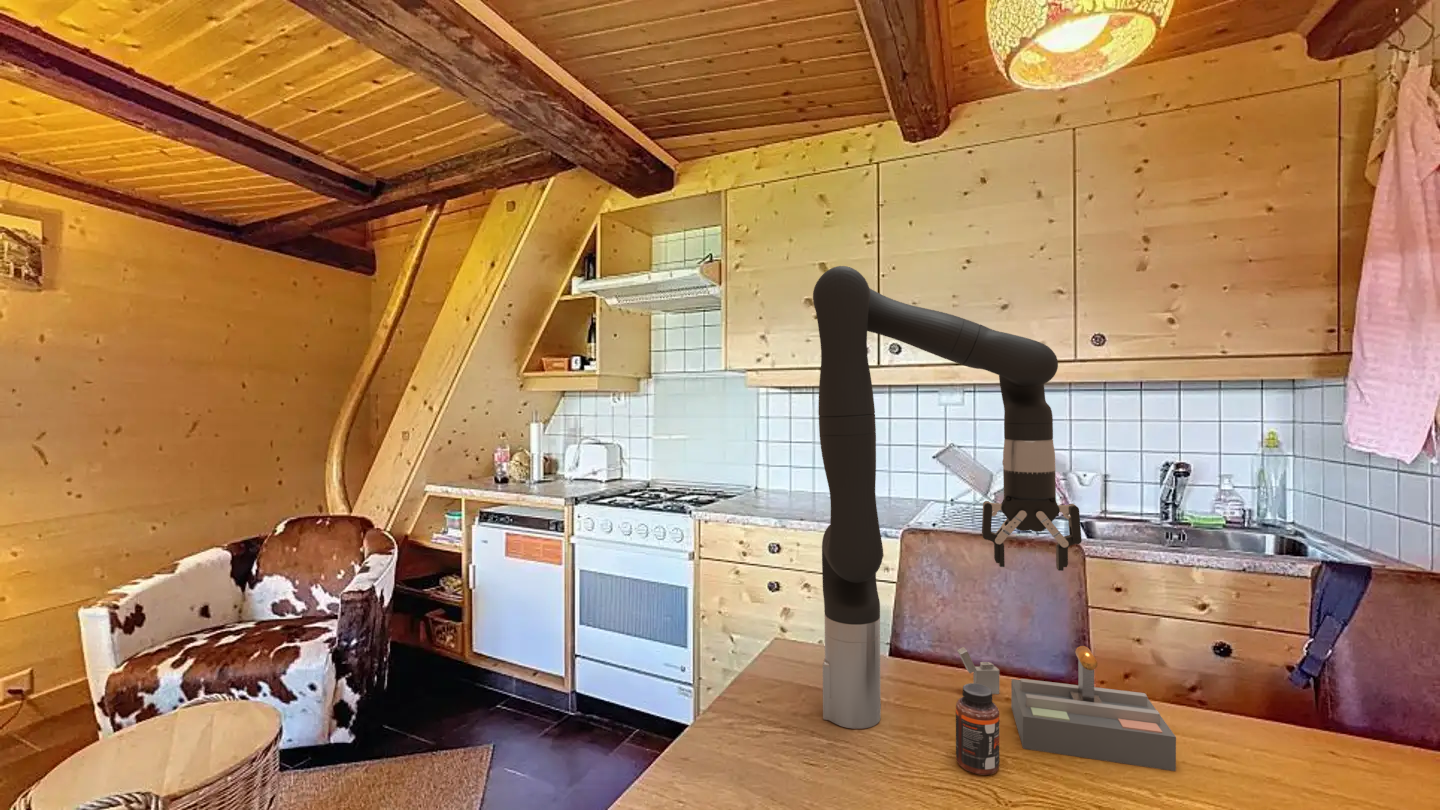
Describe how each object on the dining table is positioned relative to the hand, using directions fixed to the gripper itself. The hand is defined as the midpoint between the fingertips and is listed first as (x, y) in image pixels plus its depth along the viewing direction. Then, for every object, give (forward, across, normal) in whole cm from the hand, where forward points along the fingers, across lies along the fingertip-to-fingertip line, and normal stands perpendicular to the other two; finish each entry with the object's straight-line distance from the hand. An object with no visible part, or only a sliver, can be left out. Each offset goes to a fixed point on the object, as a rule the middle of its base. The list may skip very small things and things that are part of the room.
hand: (1030, 567), depth 101 cm
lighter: (+27, -8, +11) cm, 30 cm away
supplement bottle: (+26, -9, -13) cm, 31 cm away
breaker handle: (+21, +8, 0) cm, 23 cm away
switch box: (+26, +8, 0) cm, 28 cm away
